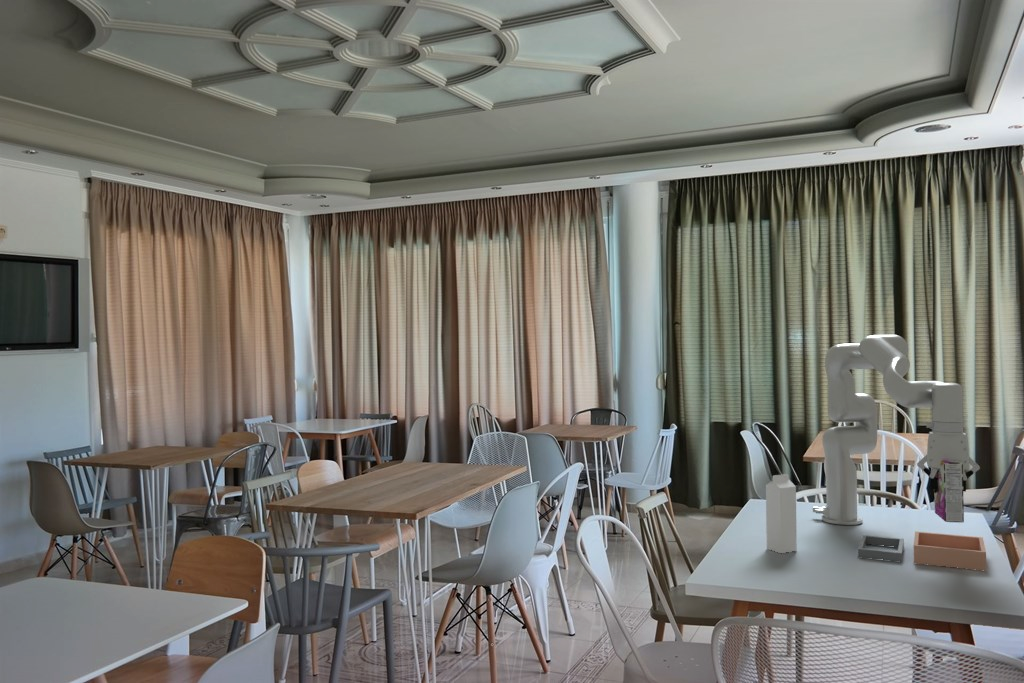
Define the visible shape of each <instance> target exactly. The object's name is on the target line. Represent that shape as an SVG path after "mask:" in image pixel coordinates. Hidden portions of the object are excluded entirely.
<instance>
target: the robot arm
mask: <svg viewBox="0 0 1024 683" xmlns="http://www.w3.org/2000/svg"><path fill="white" fill-rule="evenodd" d="M908 354H909V345H908V342H907V341H906V340H905V338H903V337H902V336H900V335H897V334H873V335H871V334H870V335H868V336H865V337H864V338H863V339H862V340H860V342H859V343H857V342H855V343H854V342H853V343H852V342H851V343H840V344H835V345H833V346H831V347H830V348H828V350H827V351H826V354H825V358H824V367H825V373H826V377H827V415H828V418H829V419H830V420H831V421H832V422H833V423H834V422H835V423H855V425H842V426H832V427H829V428H828V429H826V430H825V431H824V432H823V434H822V438H821V440H822V447H823V451H824V458H825V480H826V486H825V488H826V489H825V492H826V498H825V499H826V505H825V506H822V507H819V506H812V513H815V514H819V515H820V514H822V515H821V520H822V521H823V522H825V523H828V524H832V525H839V526H855V525H856V526H857V525H860V524H863V518H862V517H861V516H859V515H858V476H857V475H858V474H857V469H858V468H857V466H856V464H855V462H854V460H853V458H852V457H851V456H852V455H853V456H854V455H866V454H871V453H872V452H874V451H875V450H876V448H877V443H878V405H877V402H876V400H875V399H874V398H873V396H871V395H869V394H867V393H862V392H860V393H856V380H855V378H854V376H853V374H852V372H851V371H850V370H872V369H873V370H876V371H878V372H879V373H880V374H881V375H882V384H883V387H884V390H885V392H886V393H887V395H888V396H889V397H890V398H891V399H892V400H893V401H894V402H896V403H897V404H899V405H900V406H902V407H904V408H909V409H914V408H915V409H917V408H919V409H920V408H931V422H926V425H925V426H926V427H925V428H927V429H928V428H929V429H931V431H929V432H928V438H927V445H926V446H927V449H926V455H924V456H923V457H922V458H921V459H920V460H919V461H918V462H917V464H916V466H917V467H918V468H919V469H921V471H923V472H924V473H925V474H926V475H927V476H928V477H929V478H930V490H933V494H935V493H937V484H936V475H935V474H936V472H937V470H938V469H940V468H941V461H944V460H945V461H960V462H962V463H963V492H966V491H967V480H968V479H969V478H970V477H971V476H972V475H973V474H975V473H976V472H978V471H979V470H980V469H981V467H980V465H979V464H978V463H977V462H976V461H975V460H974V459H973V458H971V456H970V453H969V452H970V451H969V441H968V436H967V433H965V432H964V404H963V403H964V402H963V401H964V400H963V399H964V396H963V395H964V394H963V393H964V392H963V387H962V385H961V384H959V383H957V382H955V383H954V382H943V381H939V380H916V381H914V380H913V381H908V380H907V379H905V378H904V376H905V375H906V374H908V372H909V369H910V368H911V367H910V366H911V362H910V359H909V358H908V357H907V356H908ZM925 463H926V464H927V466H928V467H929V468H930V469H929V468H928V467H927V466H926V465H925ZM970 466H971V468H970V469H969V467H970ZM966 470H967V471H966Z"/></svg>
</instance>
